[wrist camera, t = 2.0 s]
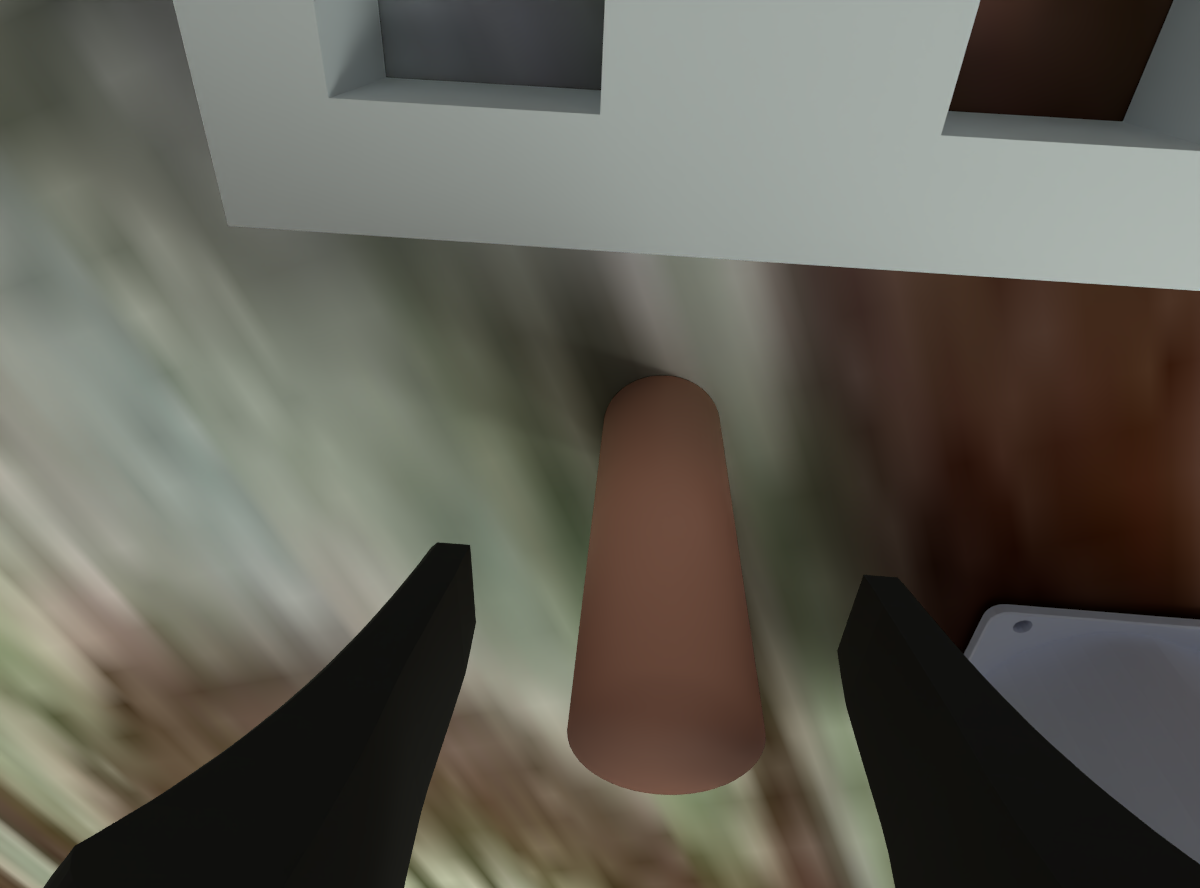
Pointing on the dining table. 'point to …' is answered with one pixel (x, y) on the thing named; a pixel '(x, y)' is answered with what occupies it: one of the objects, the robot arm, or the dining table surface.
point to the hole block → (707, 143)
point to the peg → (664, 604)
